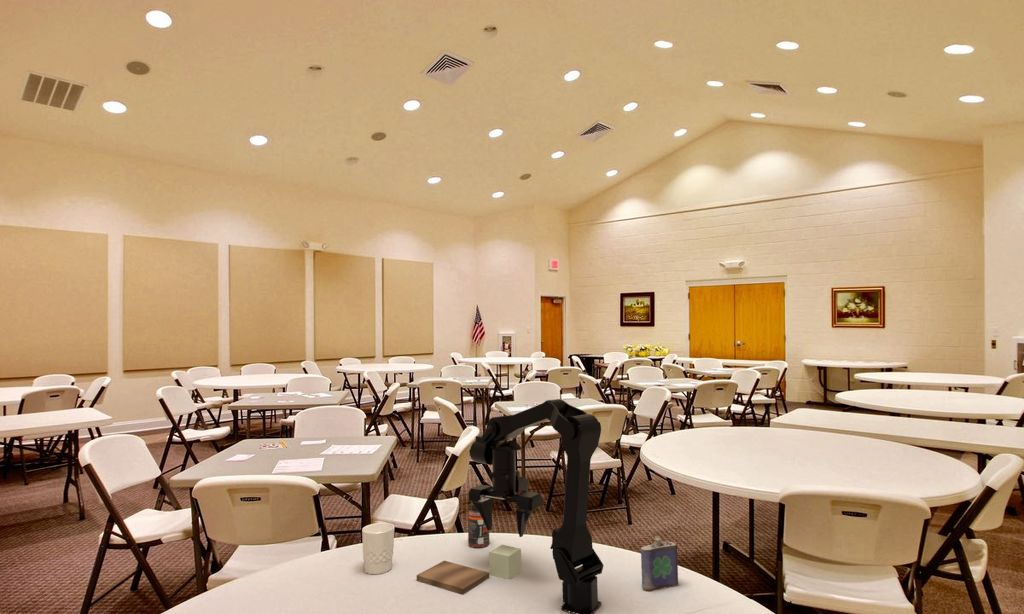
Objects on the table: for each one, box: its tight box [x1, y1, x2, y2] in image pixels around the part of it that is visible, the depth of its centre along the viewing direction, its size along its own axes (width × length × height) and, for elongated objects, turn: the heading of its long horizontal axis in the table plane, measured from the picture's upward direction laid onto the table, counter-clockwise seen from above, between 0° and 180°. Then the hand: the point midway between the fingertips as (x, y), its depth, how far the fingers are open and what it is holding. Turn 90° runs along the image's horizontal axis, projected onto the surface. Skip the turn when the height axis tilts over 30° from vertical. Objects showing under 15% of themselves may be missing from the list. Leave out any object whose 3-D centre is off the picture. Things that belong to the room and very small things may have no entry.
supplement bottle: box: [467, 503, 490, 549], centre depth 144 cm, size 6×6×11 cm
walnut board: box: [416, 560, 490, 595], centre depth 122 cm, size 14×10×1 cm
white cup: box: [361, 522, 395, 575], centre depth 129 cm, size 8×8×10 cm
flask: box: [640, 535, 679, 592], centre depth 117 cm, size 9×3×11 cm, turn 109°
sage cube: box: [489, 544, 522, 581], centre depth 125 cm, size 6×6×6 cm
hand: (505, 533), depth 125 cm, fingers open, 9 cm apart
